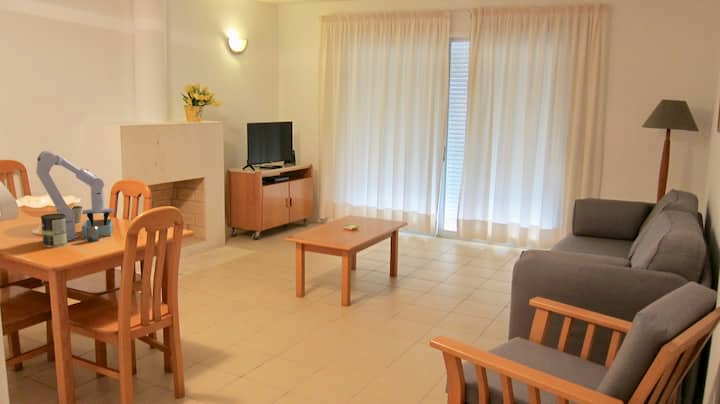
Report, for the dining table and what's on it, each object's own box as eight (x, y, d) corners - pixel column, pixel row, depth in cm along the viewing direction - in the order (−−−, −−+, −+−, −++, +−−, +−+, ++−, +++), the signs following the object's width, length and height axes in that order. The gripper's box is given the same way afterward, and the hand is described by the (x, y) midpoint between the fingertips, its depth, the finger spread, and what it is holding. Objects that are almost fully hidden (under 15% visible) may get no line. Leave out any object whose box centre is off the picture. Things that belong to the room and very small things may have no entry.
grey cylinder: (98, 241, 284) (97, 227, 282) (87, 242, 282) (86, 228, 281) (99, 239, 288) (98, 225, 287) (88, 240, 287) (87, 226, 285)
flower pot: (87, 221, 329) (86, 206, 327) (75, 224, 320) (74, 209, 318) (73, 220, 331) (72, 205, 330) (61, 223, 322) (60, 208, 321)
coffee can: (41, 248, 270) (39, 218, 268) (44, 242, 279) (42, 214, 277) (66, 246, 274) (64, 217, 271) (68, 241, 283) (66, 213, 281)
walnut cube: (104, 231, 295) (103, 221, 294) (93, 231, 294) (92, 222, 293) (105, 229, 300) (104, 219, 299) (94, 229, 298) (93, 220, 297)
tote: (110, 236, 295) (110, 225, 294) (82, 237, 291) (81, 226, 290) (113, 228, 311) (112, 218, 310) (86, 230, 307) (85, 220, 306)
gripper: (80, 203, 289) (82, 229, 291) (112, 201, 293) (113, 228, 296) (82, 200, 295) (84, 226, 298) (113, 199, 300) (114, 225, 302)
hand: (99, 227), depth 297 cm, fingers closed on walnut cube, 5 cm apart
